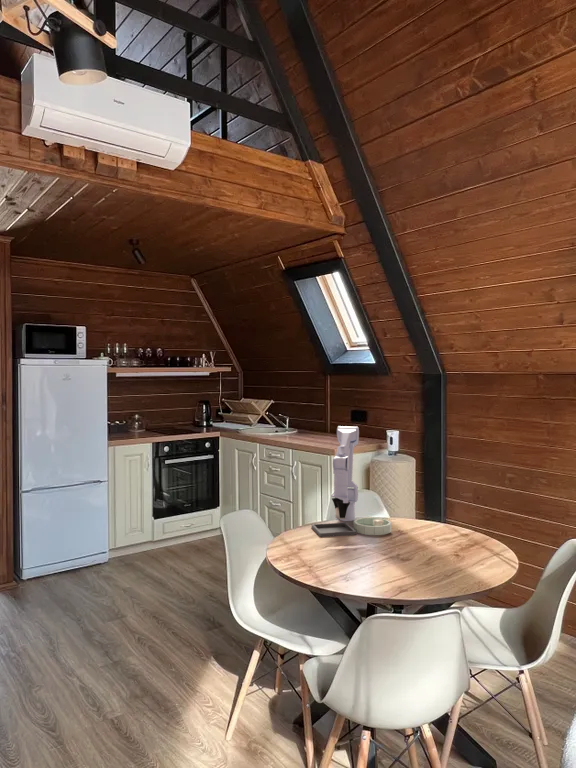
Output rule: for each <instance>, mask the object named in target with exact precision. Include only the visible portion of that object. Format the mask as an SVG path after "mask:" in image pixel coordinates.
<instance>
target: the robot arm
mask: <svg viewBox="0 0 576 768" xmlns="http://www.w3.org/2000/svg"><path fill="white" fill-rule="evenodd" d="M359 429H360V428H359V427H358V426H357V425H356V426H347V425H345V426H343V425H342V426H341V425H338V426H337V428H336V438H337V441H338V443H339V445H338V446H337V448H336V453H335V456H334V457H333V459H332V469H333V470H332V471H333V474H334V475H333V476H334V477H333V478H334V479H333V487H334V488H333V494H331V501H332V502H333V506H334V509H335V508H337V507H338V509H339V516H340V518H345V516H346V518H345V519H337V518H334V519H336V520H339V521H343V522H354V520H355V519H356V518H355V516H356V515H355V514H356V513H355V510H356V505H355V504H356V503H357V502H358V501H359V500H358V499H359V490H358V488H359V487H358V485H357V484H356V483H355V482H354V481H353V470H354V469H353V467H354V465H353V463H354V449H355V447H356V446H357V445H359V441H360V439H359V437H360V430H359Z"/></svg>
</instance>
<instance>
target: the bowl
mask: <svg viewBox="0 0 576 768" xmlns="http://www.w3.org/2000/svg"><path fill="white" fill-rule="evenodd" d="M374 519H381V520H383V521H384V523H383V526H373V520H374ZM353 529H354V530H355V531H356V534H357V533H358V534H361V535H366V536H385V535H387V534H390V533H391V532H392V521H390V520H388V519H386V518H381V517H372V516H371V517H369V516H367V517H357V518H355V520H353Z"/></svg>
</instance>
